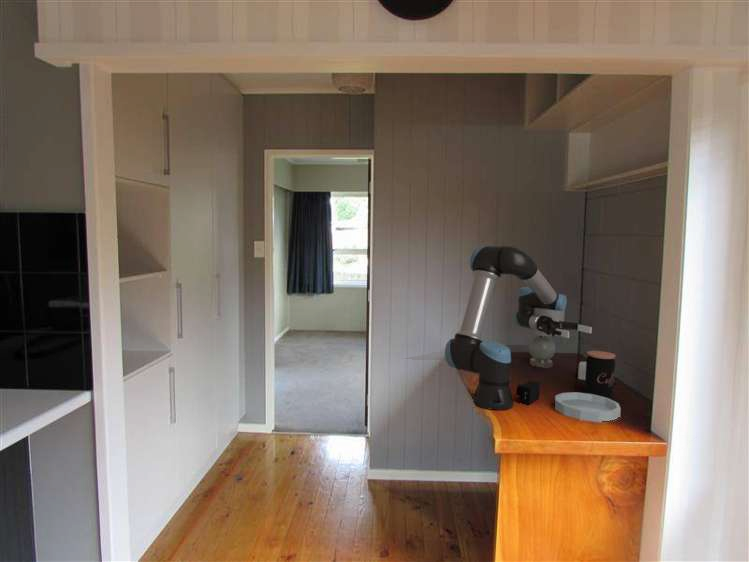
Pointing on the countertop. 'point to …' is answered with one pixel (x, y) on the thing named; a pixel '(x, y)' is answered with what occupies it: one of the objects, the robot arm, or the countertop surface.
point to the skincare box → (582, 370)
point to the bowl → (587, 407)
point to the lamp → (543, 340)
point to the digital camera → (528, 392)
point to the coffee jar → (600, 373)
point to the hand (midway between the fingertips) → (579, 332)
